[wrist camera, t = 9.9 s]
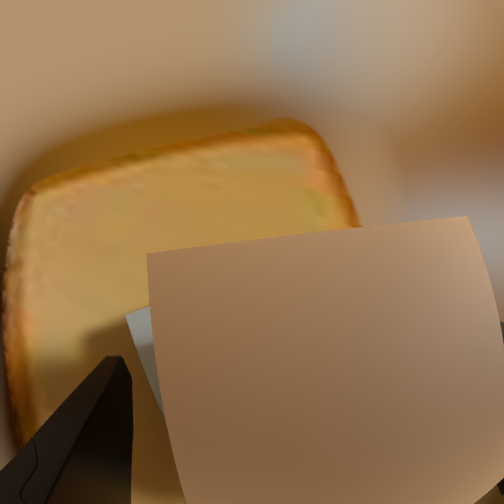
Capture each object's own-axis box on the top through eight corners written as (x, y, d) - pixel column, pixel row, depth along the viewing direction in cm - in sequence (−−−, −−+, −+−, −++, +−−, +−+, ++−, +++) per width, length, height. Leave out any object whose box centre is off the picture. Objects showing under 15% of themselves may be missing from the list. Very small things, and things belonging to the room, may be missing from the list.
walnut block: (308, 405, 14) (505, 475, 2) (226, 421, 13) (222, 596, 1) (294, 328, 16) (467, 215, 4) (212, 341, 15) (146, 253, 3)
